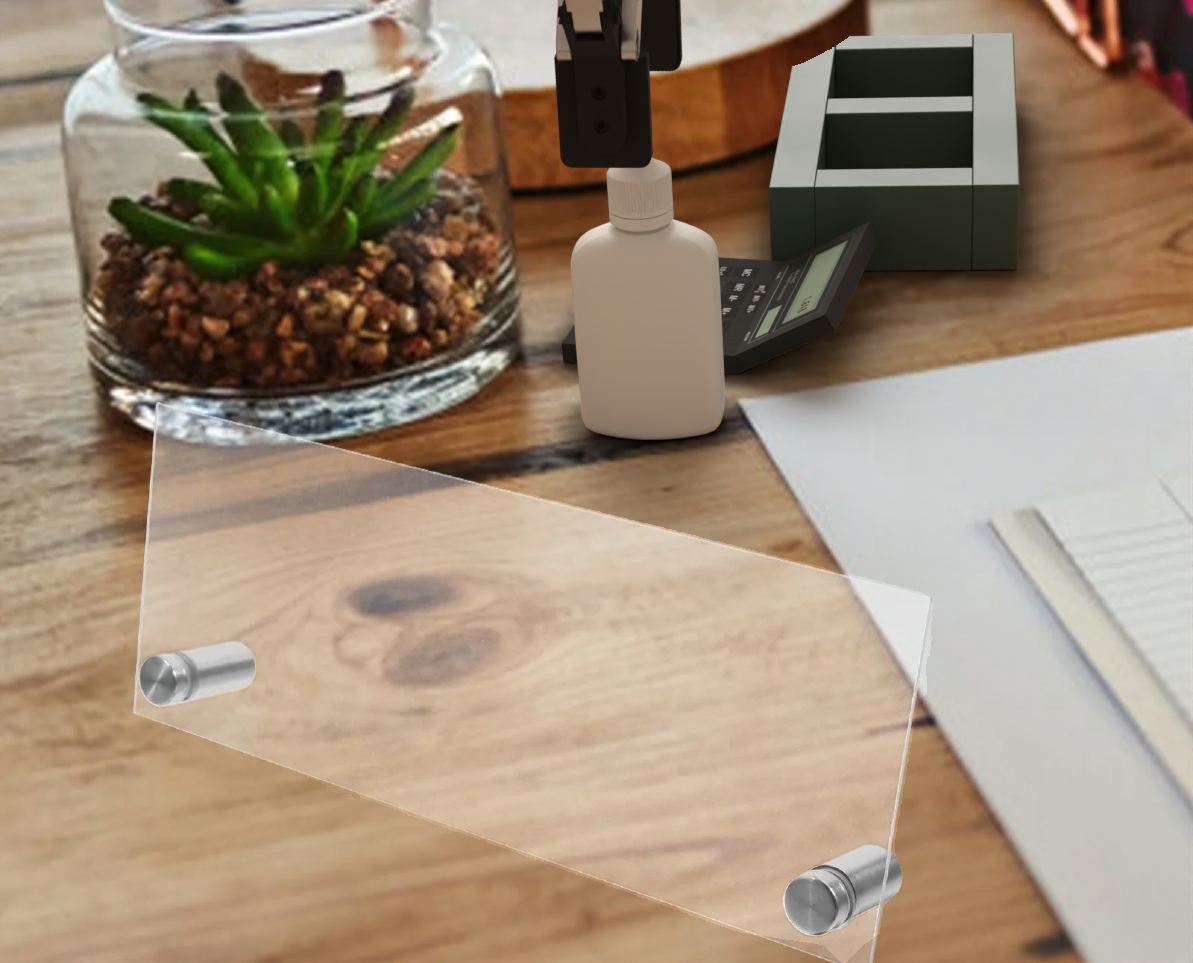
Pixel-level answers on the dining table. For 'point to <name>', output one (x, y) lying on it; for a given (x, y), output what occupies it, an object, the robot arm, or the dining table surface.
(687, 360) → the eye dropper bottle
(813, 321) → the calculator
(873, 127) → the rack
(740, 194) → the dining table surface
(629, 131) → the robot arm
